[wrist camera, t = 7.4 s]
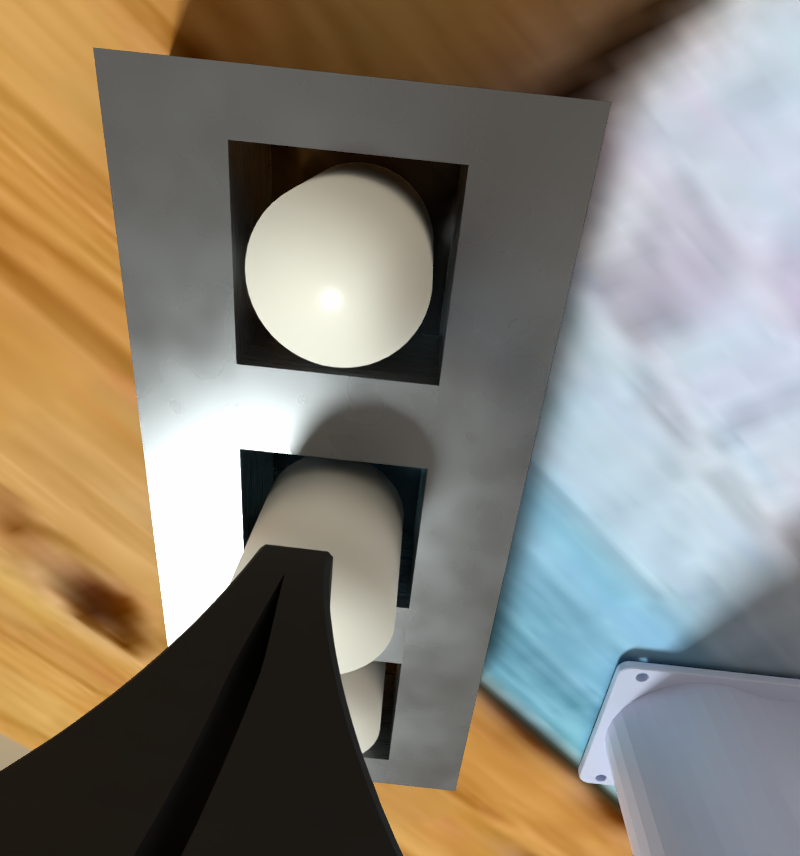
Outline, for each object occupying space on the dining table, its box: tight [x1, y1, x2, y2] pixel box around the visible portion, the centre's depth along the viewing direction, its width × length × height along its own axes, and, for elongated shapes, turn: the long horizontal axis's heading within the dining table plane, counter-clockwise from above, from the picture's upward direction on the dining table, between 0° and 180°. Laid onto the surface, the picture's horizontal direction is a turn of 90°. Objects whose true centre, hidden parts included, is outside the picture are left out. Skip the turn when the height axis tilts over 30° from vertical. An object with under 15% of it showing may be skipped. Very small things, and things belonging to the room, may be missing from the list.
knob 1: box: [245, 162, 434, 368], centre depth 16 cm, size 4×4×4 cm
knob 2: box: [340, 661, 386, 753], centre depth 24 cm, size 4×4×4 cm
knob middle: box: [229, 456, 404, 674], centre depth 18 cm, size 4×4×4 cm
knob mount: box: [93, 48, 611, 791], centre depth 20 cm, size 11×24×4 cm, turn 175°
